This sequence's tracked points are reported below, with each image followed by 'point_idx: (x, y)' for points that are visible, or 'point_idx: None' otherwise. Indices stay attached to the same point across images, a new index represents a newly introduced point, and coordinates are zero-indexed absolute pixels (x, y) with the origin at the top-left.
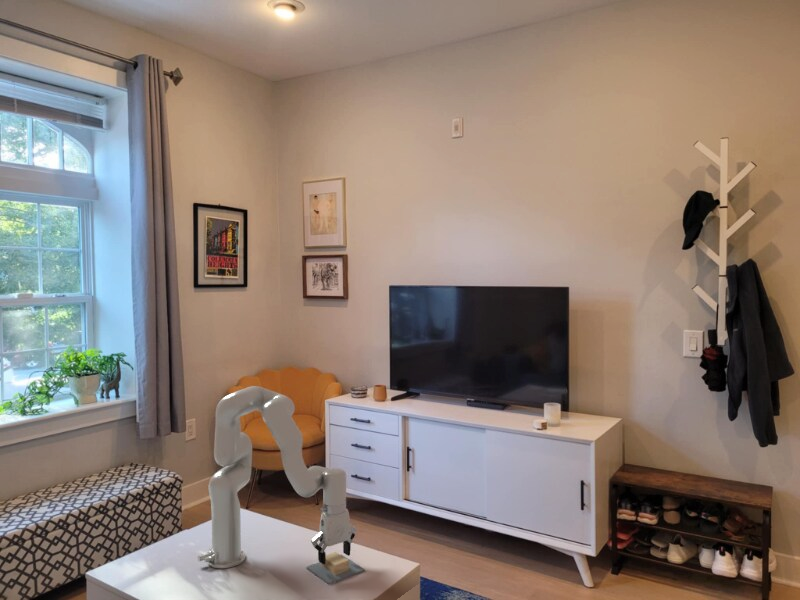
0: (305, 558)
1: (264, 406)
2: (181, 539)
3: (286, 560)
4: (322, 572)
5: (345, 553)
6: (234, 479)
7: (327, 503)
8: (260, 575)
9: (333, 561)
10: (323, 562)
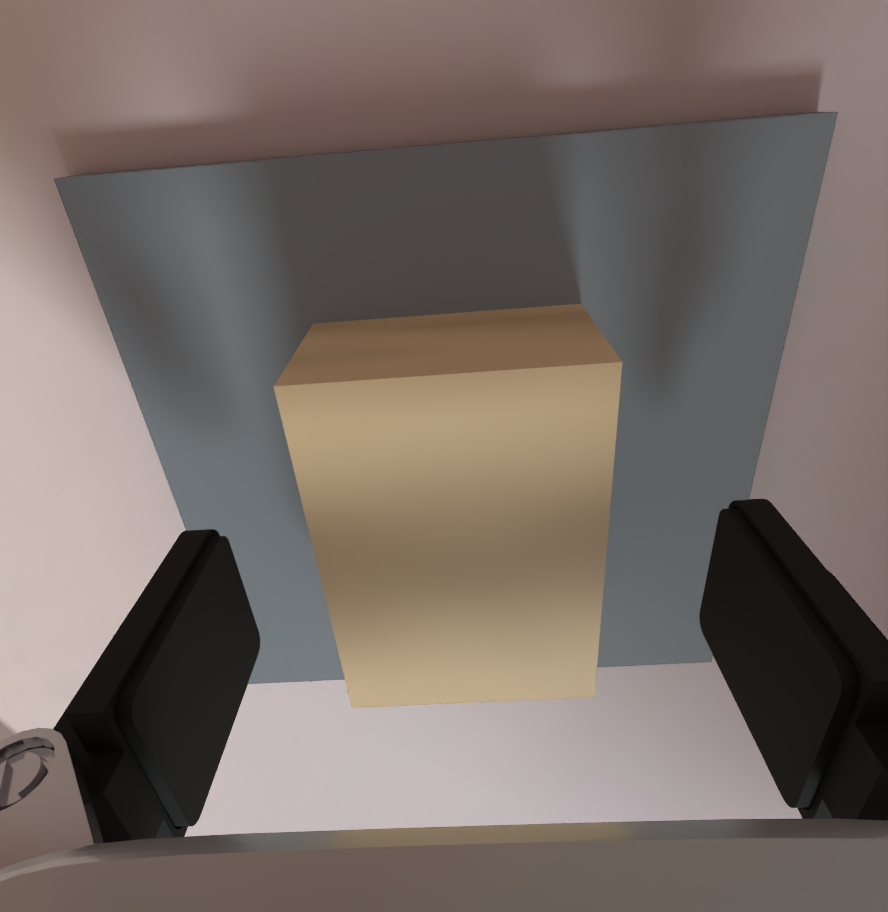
0: (577, 775)
1: None
2: None
3: (724, 813)
4: (668, 470)
5: (243, 602)
6: None
7: None
8: None
9: (551, 501)
10: (775, 527)
